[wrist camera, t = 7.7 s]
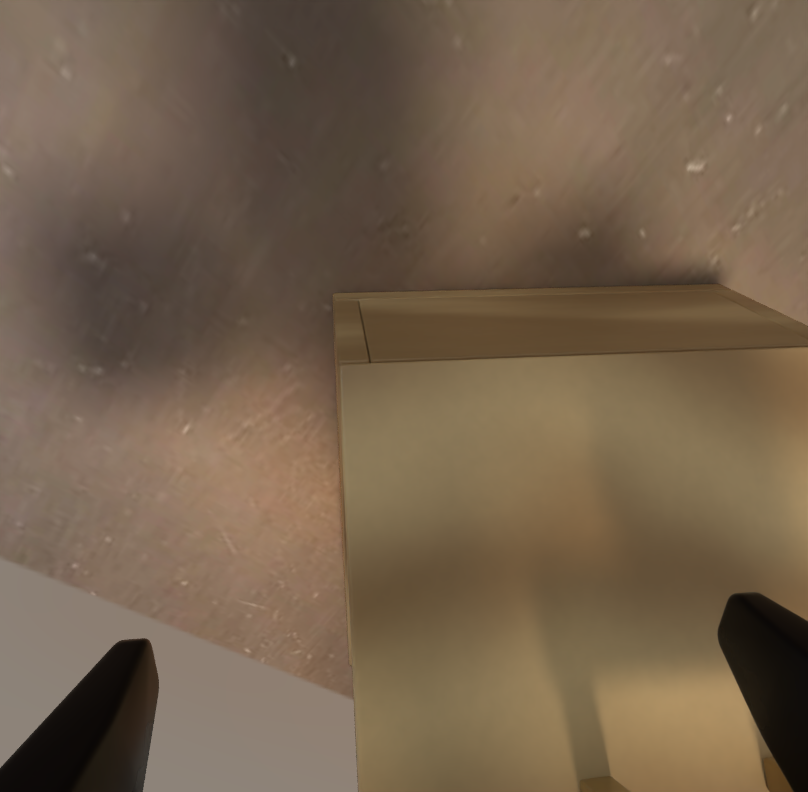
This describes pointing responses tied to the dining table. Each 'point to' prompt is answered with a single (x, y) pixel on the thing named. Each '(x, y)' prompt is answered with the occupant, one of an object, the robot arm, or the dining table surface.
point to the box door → (567, 565)
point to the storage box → (546, 329)
